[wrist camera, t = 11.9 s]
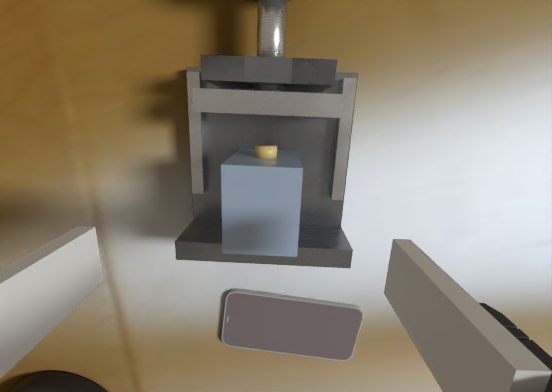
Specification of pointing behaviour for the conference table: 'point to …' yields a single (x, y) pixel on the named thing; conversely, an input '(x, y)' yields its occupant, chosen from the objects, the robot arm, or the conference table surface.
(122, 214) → the conference table surface
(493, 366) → the robot arm
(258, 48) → the ram
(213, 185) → the press bed
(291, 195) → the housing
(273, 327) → the smartphone
